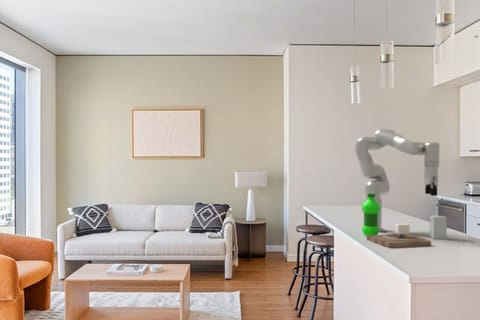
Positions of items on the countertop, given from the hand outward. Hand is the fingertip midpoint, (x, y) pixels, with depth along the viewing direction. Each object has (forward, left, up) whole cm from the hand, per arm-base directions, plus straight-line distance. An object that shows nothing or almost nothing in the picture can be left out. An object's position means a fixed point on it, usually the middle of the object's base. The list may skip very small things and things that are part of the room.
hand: (431, 194), depth 231 cm
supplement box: (-5, +10, -26) cm, 28 cm away
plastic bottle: (-17, -27, -26) cm, 41 cm away
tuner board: (+2, -22, -26) cm, 34 cm away
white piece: (0, -21, -23) cm, 31 cm away
